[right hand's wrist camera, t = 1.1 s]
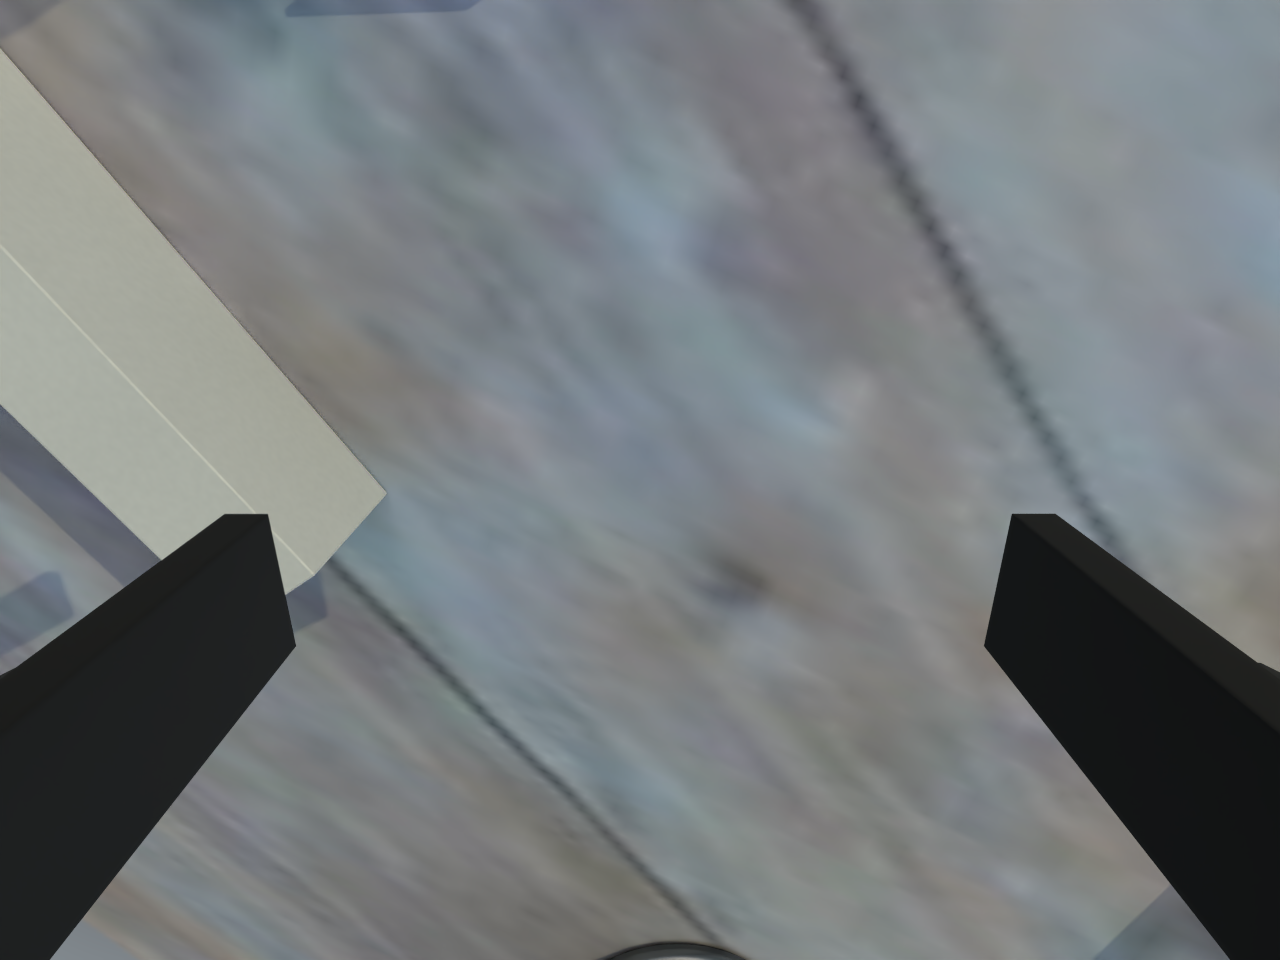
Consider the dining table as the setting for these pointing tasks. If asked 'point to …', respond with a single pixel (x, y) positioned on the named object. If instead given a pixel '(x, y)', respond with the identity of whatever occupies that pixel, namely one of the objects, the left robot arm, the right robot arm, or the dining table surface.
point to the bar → (149, 363)
